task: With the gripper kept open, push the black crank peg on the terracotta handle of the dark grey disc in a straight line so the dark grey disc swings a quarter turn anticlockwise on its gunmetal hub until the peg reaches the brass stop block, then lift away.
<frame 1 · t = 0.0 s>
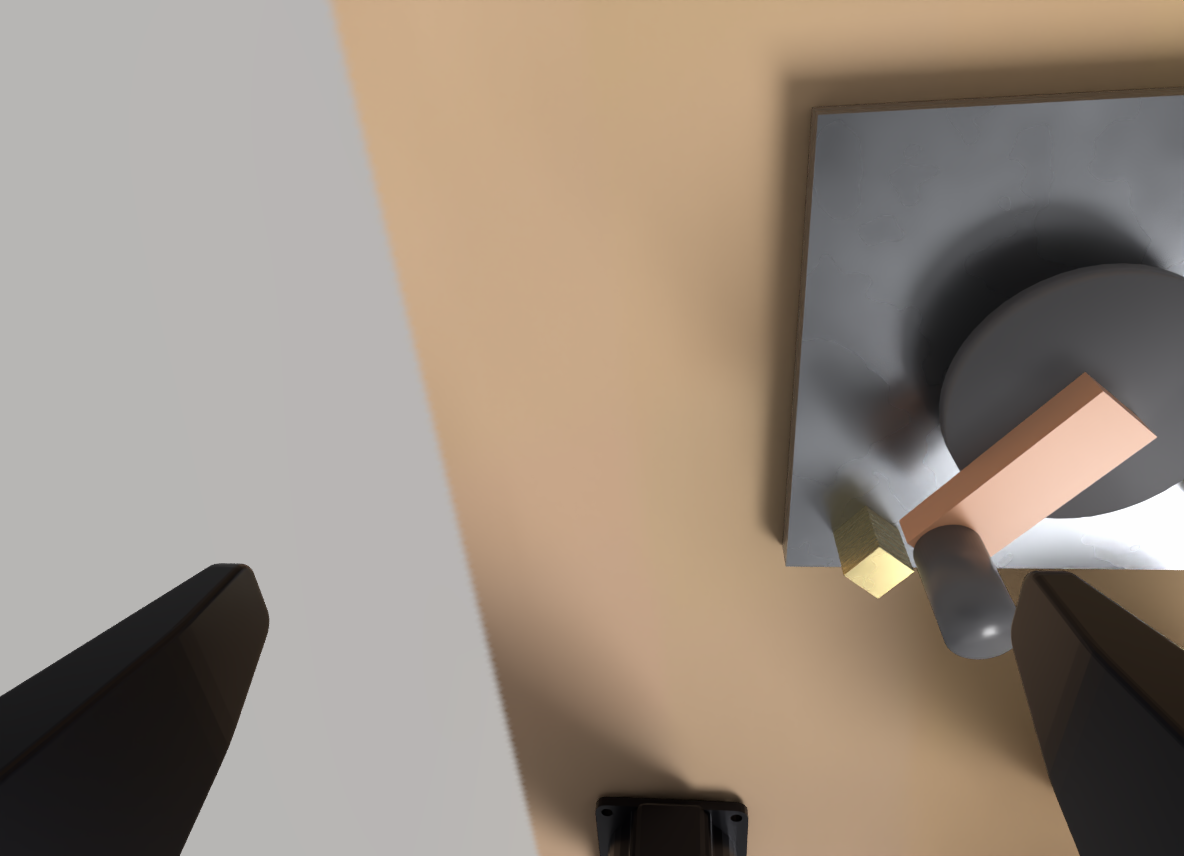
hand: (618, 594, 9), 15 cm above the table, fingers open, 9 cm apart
hub plate: (1047, 355, 23), on the table
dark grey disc: (1079, 474, 20), point 5 cm above the table, hinge at 0.0°
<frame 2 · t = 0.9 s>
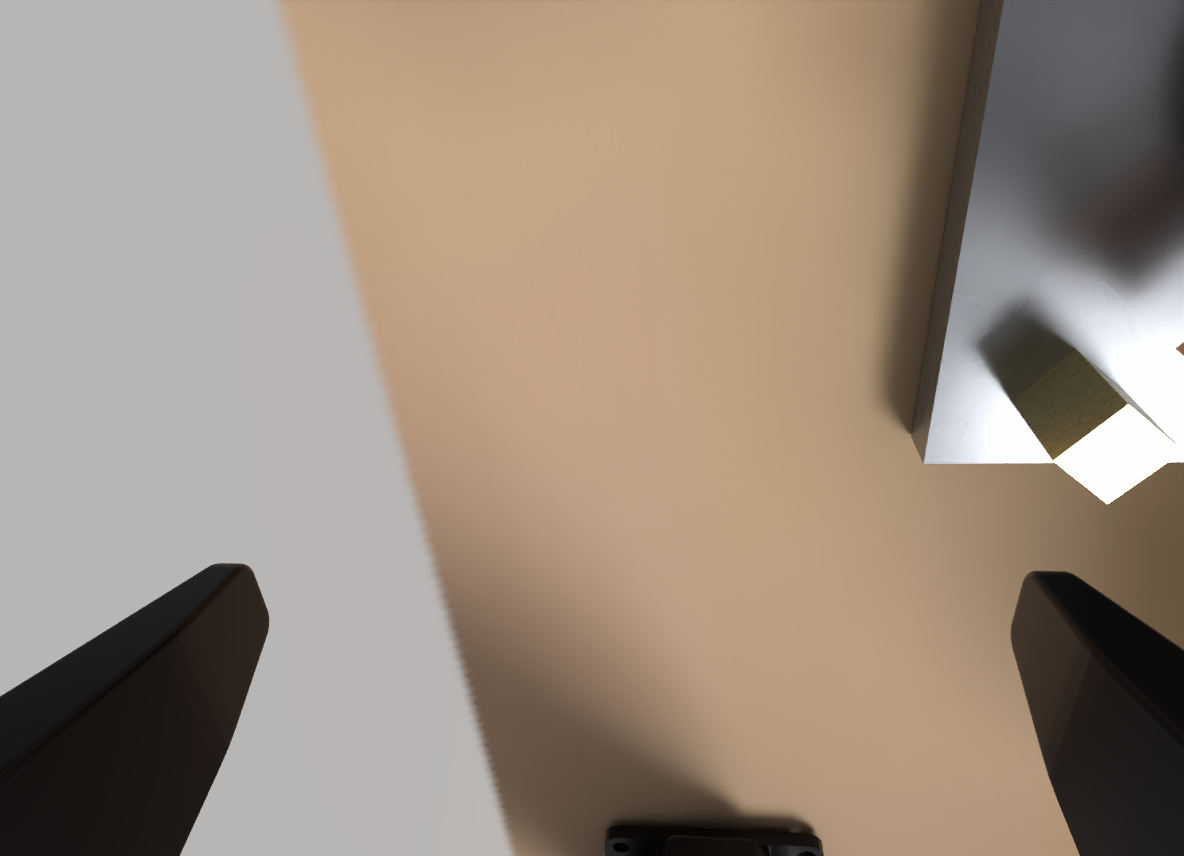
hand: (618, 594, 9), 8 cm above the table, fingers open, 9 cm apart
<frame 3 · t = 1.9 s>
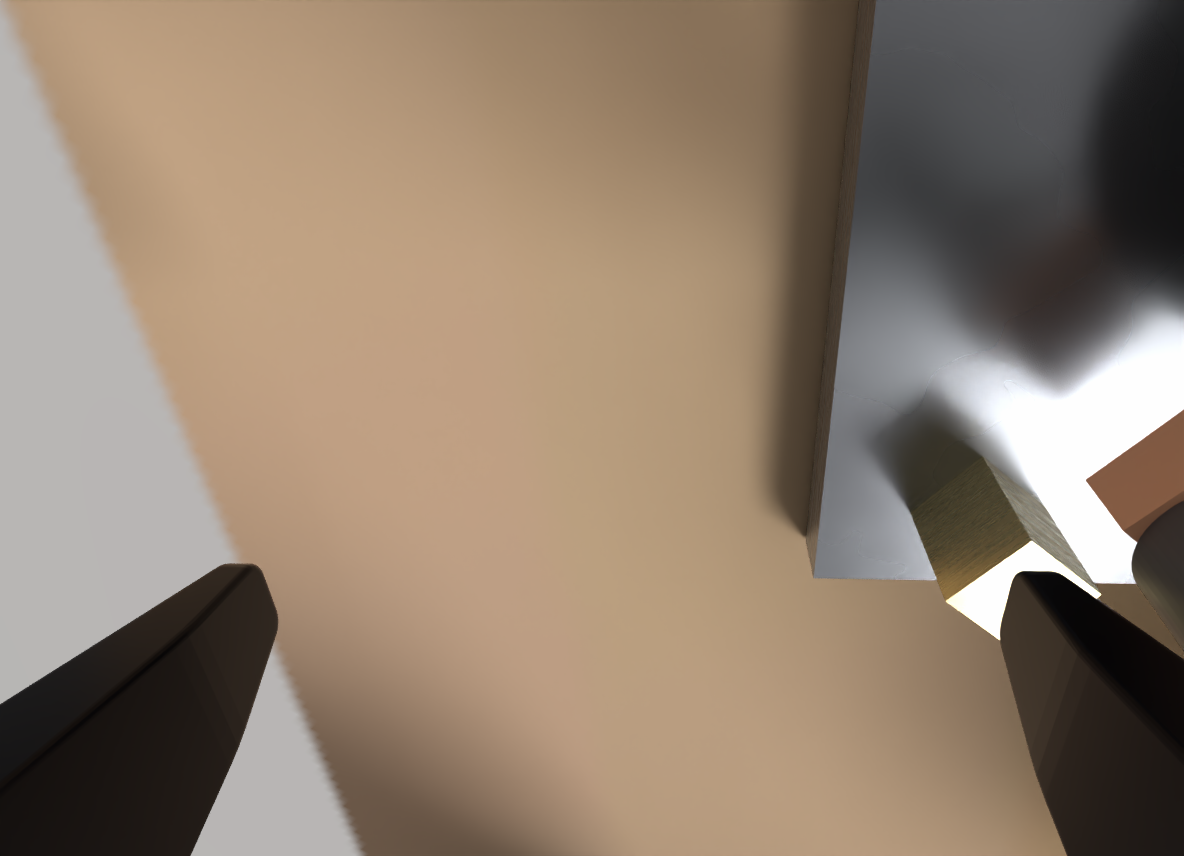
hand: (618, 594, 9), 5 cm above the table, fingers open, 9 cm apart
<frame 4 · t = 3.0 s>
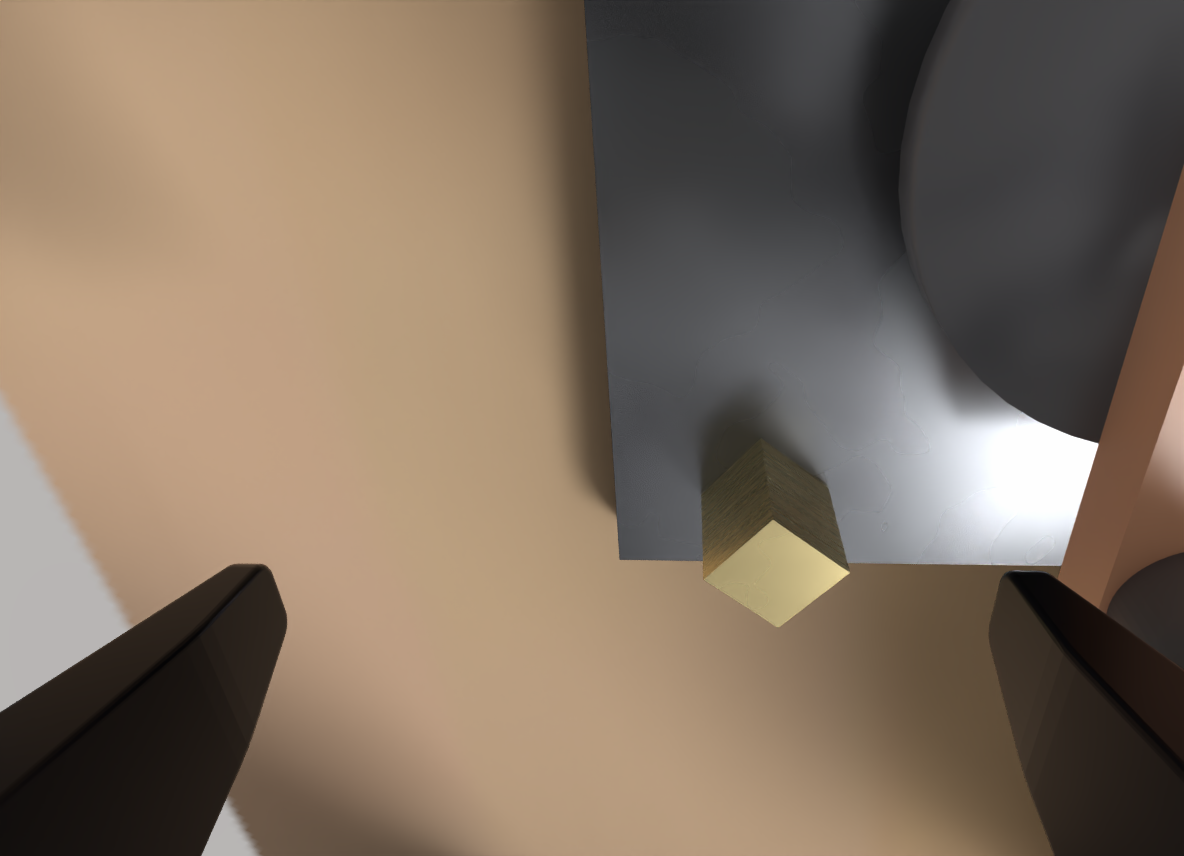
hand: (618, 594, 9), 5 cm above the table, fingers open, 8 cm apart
hub plate: (1148, 93, 10), on the table
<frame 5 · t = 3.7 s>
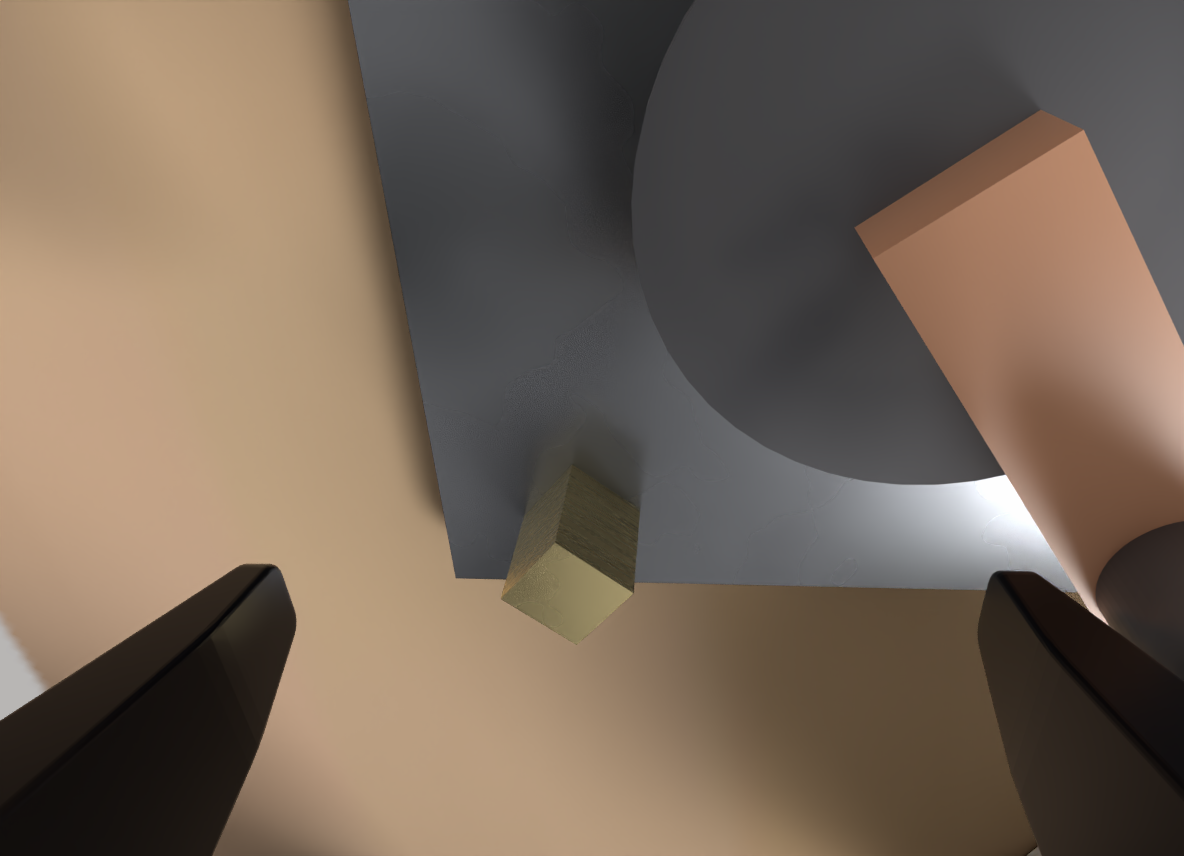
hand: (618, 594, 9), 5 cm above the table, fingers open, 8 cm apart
hub plate: (899, 148, 11), on the table
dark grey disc: (1072, 362, 8), point 5 cm above the table, hinge at 74.4°, touching gripper
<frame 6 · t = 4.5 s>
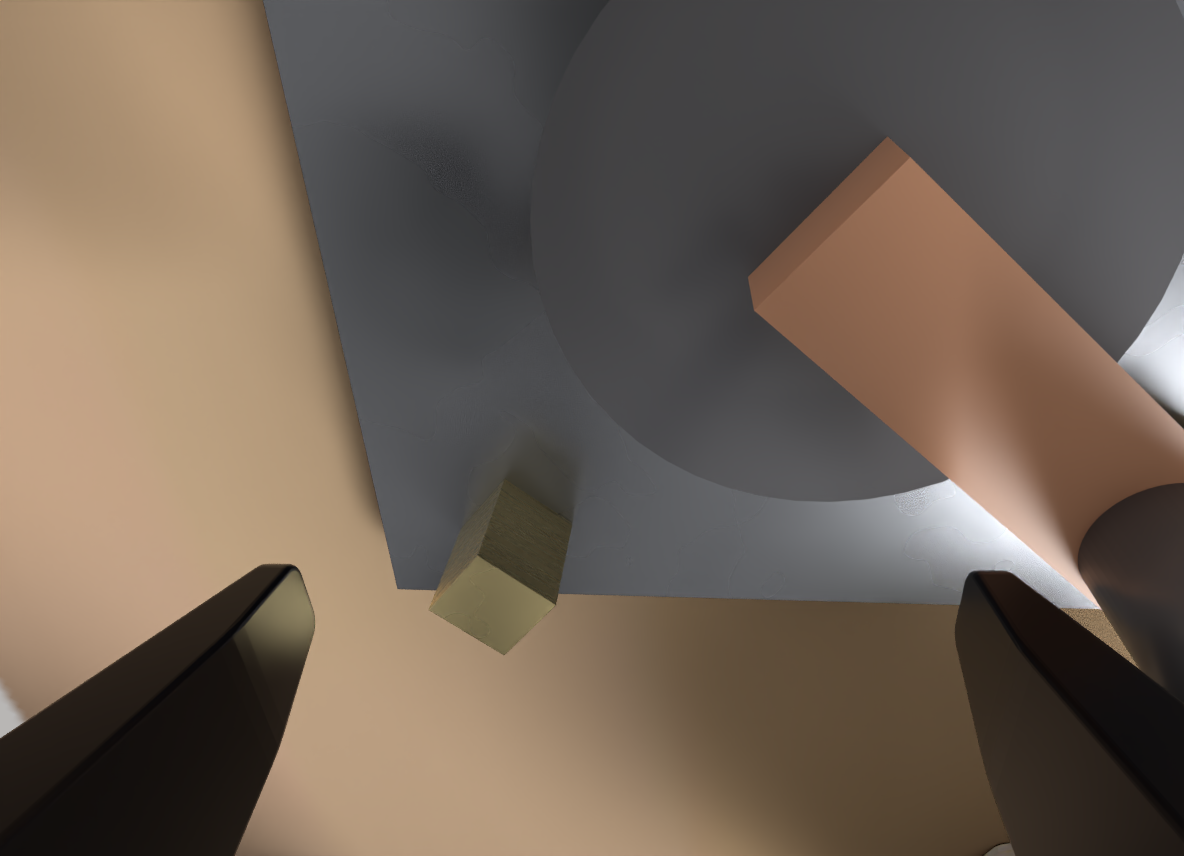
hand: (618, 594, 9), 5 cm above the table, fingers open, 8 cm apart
hub plate: (810, 176, 11), on the table
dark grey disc: (960, 370, 8), point 5 cm above the table, hinge at 87.7°, touching gripper
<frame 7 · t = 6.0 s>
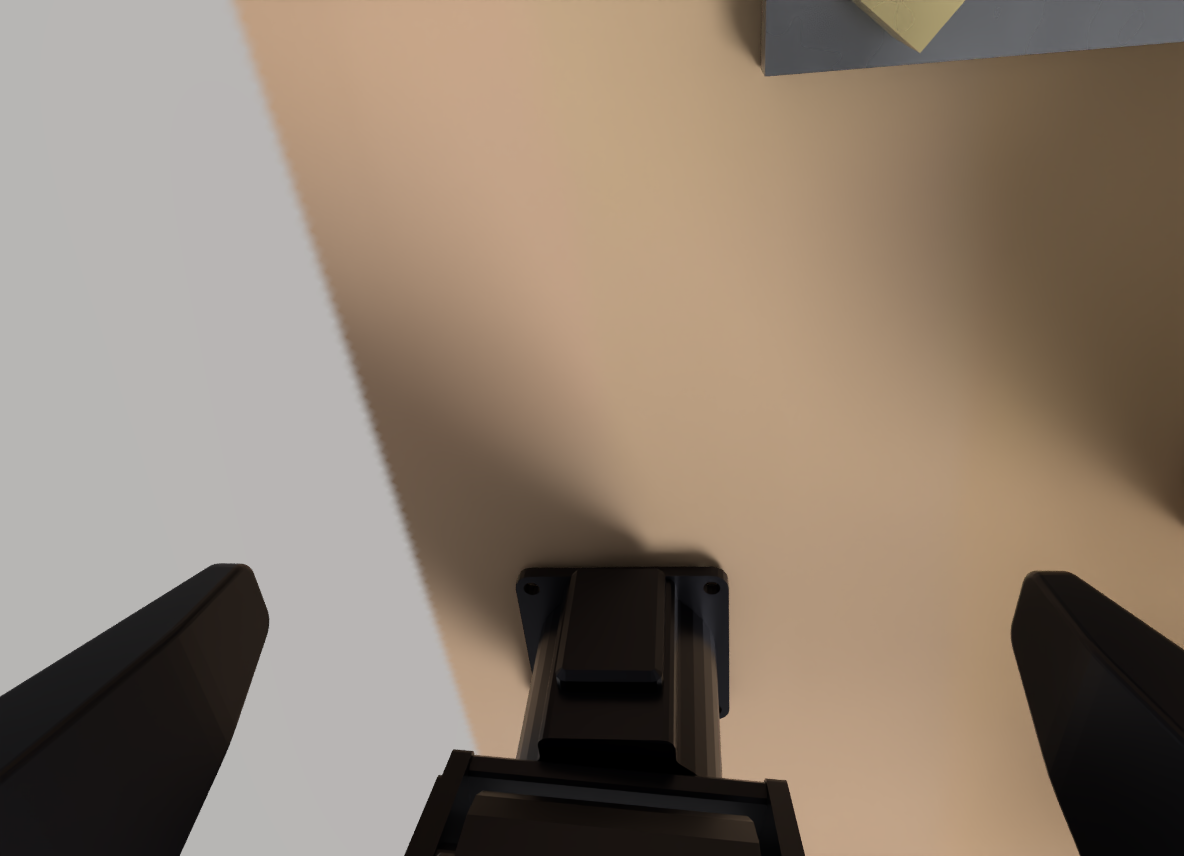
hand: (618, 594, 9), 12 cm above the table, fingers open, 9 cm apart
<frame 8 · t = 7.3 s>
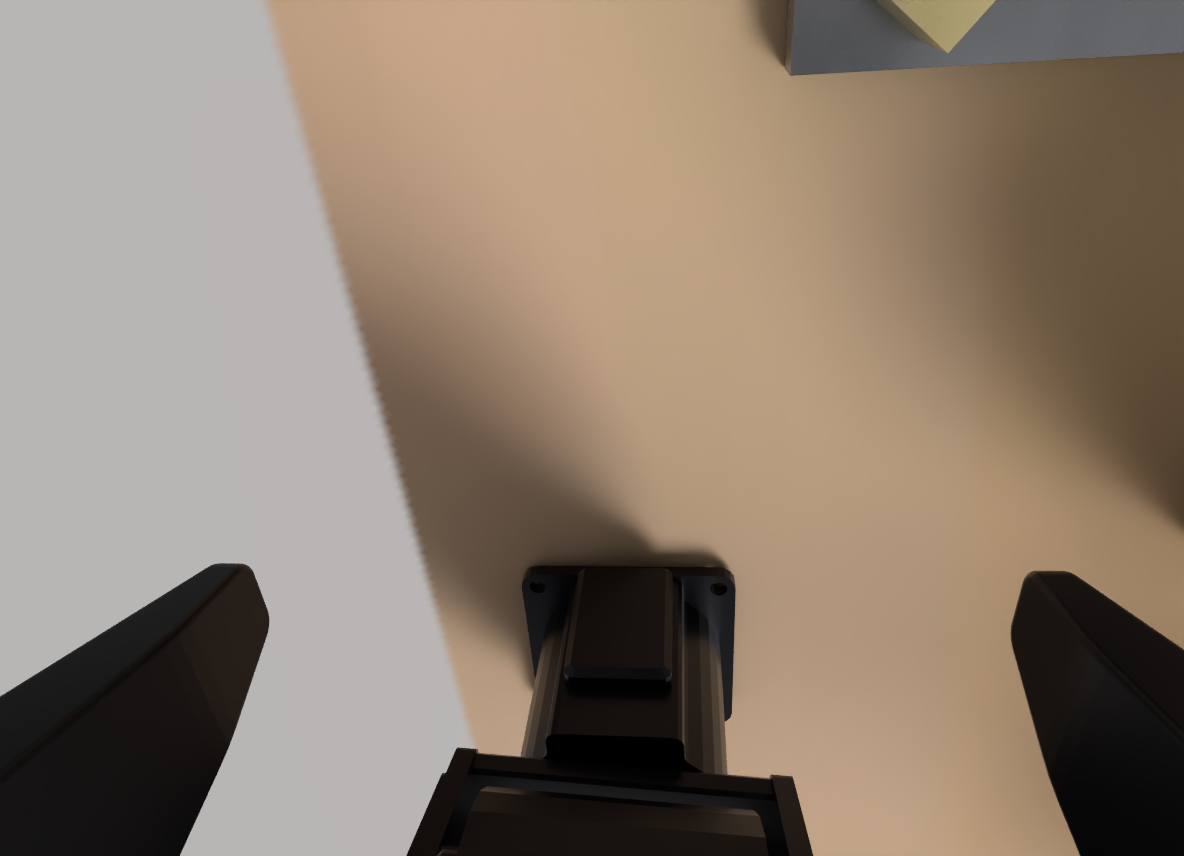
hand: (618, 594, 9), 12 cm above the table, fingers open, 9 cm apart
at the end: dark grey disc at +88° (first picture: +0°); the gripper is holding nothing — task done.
